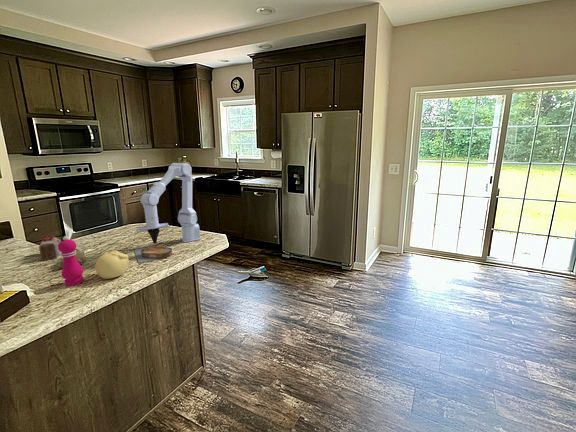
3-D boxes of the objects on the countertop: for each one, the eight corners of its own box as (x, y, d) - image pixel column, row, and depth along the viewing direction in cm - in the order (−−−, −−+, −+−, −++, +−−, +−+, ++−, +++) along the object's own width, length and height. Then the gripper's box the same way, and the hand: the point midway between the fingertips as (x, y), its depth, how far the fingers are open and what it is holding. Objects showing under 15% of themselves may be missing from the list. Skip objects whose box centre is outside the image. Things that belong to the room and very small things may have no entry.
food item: (44, 252, 158) (40, 234, 155) (63, 249, 162) (59, 232, 159) (40, 261, 146) (36, 242, 144) (60, 258, 150) (56, 239, 148)
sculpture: (135, 271, 134) (131, 248, 132) (111, 283, 123) (107, 258, 121) (115, 268, 138) (111, 245, 135) (91, 279, 127) (86, 255, 124)
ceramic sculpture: (86, 239, 150) (82, 251, 137) (90, 255, 153) (85, 268, 140) (60, 243, 146) (53, 255, 133) (64, 259, 148) (57, 273, 136)
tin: (174, 247, 155) (166, 252, 147) (175, 253, 156) (167, 258, 147) (146, 246, 156) (137, 251, 148) (147, 252, 157) (137, 257, 149)
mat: (155, 246, 165) (155, 246, 165) (162, 258, 148) (162, 258, 148) (134, 250, 159) (134, 250, 159) (138, 263, 143) (138, 262, 143)
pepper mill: (70, 279, 128) (61, 233, 123) (88, 278, 128) (80, 233, 123) (59, 287, 121) (49, 239, 116) (78, 286, 121) (69, 238, 116)
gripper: (165, 213, 158) (168, 238, 161) (134, 217, 150) (138, 243, 154) (168, 216, 152) (171, 241, 156) (136, 220, 145) (140, 247, 148)
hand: (154, 243), depth 154 cm, fingers closed
